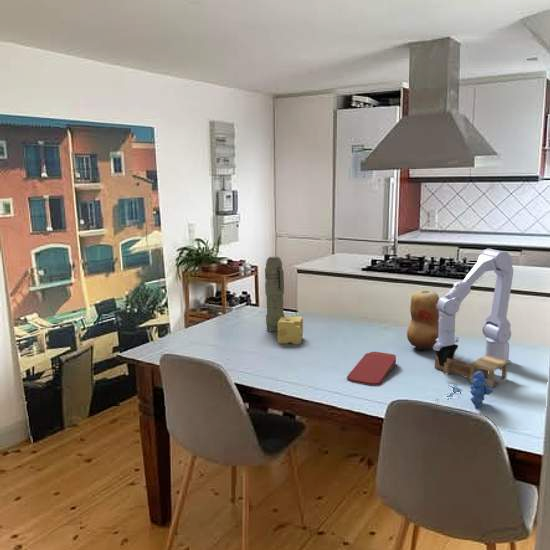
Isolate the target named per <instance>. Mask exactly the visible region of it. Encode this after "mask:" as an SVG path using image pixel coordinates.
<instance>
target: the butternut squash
mask: <svg viewBox="0 0 550 550" xmlns="http://www.w3.org/2000/svg"><path fill="white" fill-rule="evenodd" d="M439 299H440V297H439V295H438V293H436V292H435V291H434V290H430V289H419V290H418V291H415V292H414V293H412V295H411V298H410V305H409V308H410V315H411V319H410V323H409V325H408V328H407V331H406V337H407V341H408V342H409V343H410V345H411V346H414V347H415V348H417V349H418V350H422V351H428V350H429V349H431V348H434V345H435V344H436V342H437V341H436V339H437V338H438V336H439V311H438V309H437V307H436V304H437V303H438V301H439Z"/></svg>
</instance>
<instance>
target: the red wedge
mask: <svg viewBox="0 0 550 550" xmlns="http://www.w3.org/2000/svg"><path fill="white" fill-rule="evenodd" d="M396 361H397V355H396V354H394V353H389V352H388V353H387V352H379V351H369V352H367V353H365V354H364V355H363V357H362V358H361V359H360V360H359V361H358V363H356V365H354V367H353V369H352V370H351V371H350V372H349V373H348V374H347V376H346V380H347V381H349V382H352V383H358V384H362V385H368V386H380V385H381V384H382V382H383V381H384V380H385V379H386V377H387V375H389V372H390V371H391V370H392V368H393V367H394V366H395V364H396Z"/></svg>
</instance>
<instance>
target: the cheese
mask: <svg viewBox="0 0 550 550" xmlns="http://www.w3.org/2000/svg"><path fill="white" fill-rule="evenodd" d="M303 322H304V321H303V316H285V317H280V320H279V321H278V332H277V343H278V344H292V343H293V345H301V343H302V339H303V333H304V323H303Z"/></svg>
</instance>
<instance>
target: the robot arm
mask: <svg viewBox="0 0 550 550" xmlns="http://www.w3.org/2000/svg"><path fill="white" fill-rule="evenodd" d="M490 271H493V272H494V273H495V274H496V279H495V285H494V291H493V296H492V297H493V298H492V305H491V312H490V315H488V316H487V317H486V318H485V322H484V324H483V326H482V329H481V330H482V331H481V332H482V334H483V335H484V336H485V337H484V338H485V352H484V354H485V355H488V356H492V357H497V358H501V359H506V360H508V363H507V365H508V364H510V363H511V362H512V360H510V344H509V342H508V341H510V339H511V337H512V331H511V330H512V329H511V322H510V320H508V318H507V315H508V310H509V302H510V296H511V290H512V284H513V276H514V267H513V257H512V256H511V255H510V253H508V252H507V251H505V250H497V249H493V248H486V249H484V250H482V253H480V254H479V256H478V257H477V262H476V263H475V264H474V265H473V267H472V268H471V269H470V271H469V272H468V273H467V274H466V276H465V278H464V279H463V280H460V281H457V282H454V284H453V287H452V288H451V289H450V290H449V291H448V292H447V293H445V296H443V297H439V301H438V303H437V304H436V307H437V309H438V311H439V336H438V338H437V339H436V341H437V342H436V344H435V345H434V347H433V351H435V354H436V356H437V357H438V360H439V364H440V366H443V367H444V363H445V362H447V358H450V359H453V358H454V355H455V353H456V351H457V350H458V348H459V345H458V344H457V343H459V337H458V336H456V314H457V313H458V312H459V310H460V307H461V305H462V304H461V303H462V302H463V301H464V300H465V298H466V297H467V296H468V295H469V294H470V293H471V291H472V289H471V287H472V286H473V285H474V283H476V281H478V280H479V278H480V277H482V276H483V275H484V274H485V273H486V272H490ZM485 355H484V356H485ZM499 369H502V366H501V367H500V368H499Z"/></svg>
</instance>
